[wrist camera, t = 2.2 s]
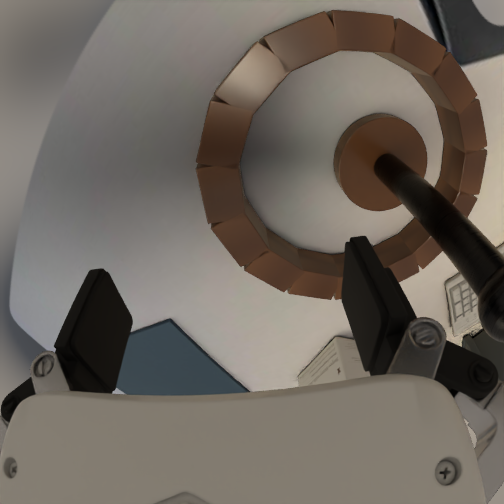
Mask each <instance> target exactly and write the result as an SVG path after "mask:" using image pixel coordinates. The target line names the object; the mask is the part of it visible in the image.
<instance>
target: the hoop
mask: <svg viewBox="0 0 504 504" xmlns="http://www.w3.org/2000/svg"><path fill="white" fill-rule="evenodd" d="M259 41H260V42H258V41H257V42H256V43H254V44H253V45H252V46H251V47H250V49H249V50H248V51H247V52H246V53H245V54H244V56H243V57H242V58H241V59H240V60H239V61H238V63H237V64H236V65H235V66H234V67H233V69H232V70H231V71H230V72H229V74H228V75H227V76H226V77H225V79H224V80H223V81H222V82H221V84H220V85H219V86H218V87H217V89H216V90H215V92H214V95H213V97H212V99H211V100H210V103H209V107H208V111H207V115H206V119H205V124H204V128H203V132H202V136H201V141H200V145H199V150H198V154H197V159H196V162H197V163H198V164H197V167H196V173H197V177H198V182H199V186H200V191H201V195H202V200H203V204H204V208H205V213H206V217H207V221H208V224H210V223H211V229H212V231H213V232H214V233H215V235H216V236H217V237H218V238H219V240H220V241H221V242H222V244H223V245H224V246H225V248H226V249H227V250H228V251H229V253H230V254H231V255H232V257H233V258H234V259H235V260H236V262H237V263H238V264H239V266H240V267H242V266H244V270H245V271H246V272H248V273H250V274H252V275H253V276H255V277H257V278H259V279H261V280H262V281H264V282H266V283H268V284H270V285H271V286H273V287H275V288H277V289H279V290H280V291H282V292H285V291H286V290H288V294H294V295H301V296H307V297H314V298H321V299H328V300H331V299H332V297H333V295H334V298H335V300H337V299H341V290H342V280H343V268H344V256H345V253H342V254H335V255H329V254H324V253H319V252H314V251H309V250H304V249H299V248H296V247H294V246H293V245H291V244H290V243H288V242H287V241H285V240H284V239H282V238H281V237H279V236H278V235H276V234H275V233H273V232H272V231H270V230H269V229H267V228H266V227H265V226H264V224H263V223H262V221H261V220H260V218H259V217H258V215H257V214H256V212H255V211H254V209H253V208H252V206H251V205H250V203H249V201H248V200H247V198H246V197H245V195H244V189H243V183H242V176H241V170H240V159H241V156H242V152H243V149H244V145H245V142H246V138H247V135H248V131H249V128H250V124H251V121H252V118H253V115H254V114H255V112H256V111H257V110H258V109H259V108H260V106H261V105H262V104H263V103H264V102H265V101H266V99H267V98H268V97H269V96H270V95H271V94H272V92H273V91H274V90H275V89H276V88H277V87H278V85H279V84H280V83H281V82H282V81H283V80H284V79H285V78H286V76H287V75H288V74H289V73H290V72H292V71H294V70H296V69H298V68H300V67H302V66H305V65H307V64H309V63H311V62H314V61H316V60H318V59H321V58H323V57H325V56H328V55H330V54H333V53H335V52H338V51H361V52H373V53H375V54H377V55H379V56H381V57H383V58H385V59H387V60H389V61H391V62H393V63H395V64H397V65H399V66H401V67H402V68H404V69H406V70H408V71H409V72H411V73H412V74H413V76H414V77H415V78H416V79H417V81H418V82H419V83H420V84H421V86H422V87H423V88H424V90H425V91H426V92H427V94H428V95H429V96H430V98H431V99H432V100H433V102H434V103H435V106H436V109H437V113H438V117H439V120H440V124H441V128H442V132H443V136H444V150H443V159H442V167H441V174H440V178H439V180H438V182H437V184H436V186H435V189H436V190H437V191H439V192H440V193H441V194H442V195H443V196H444V197H445V198H446V199H447V200H449V201H450V202H451V203H452V204H453V205H454V206H455V207H456V208H457V209H458V210H459V211H460V212H461V213H462V214H463V215H465V216H466V217H468V216H469V214H470V212H471V210H472V208H473V206H474V205H475V203H476V201H477V198H476V197H475V196H474V195H477V194H479V193H480V188H481V183H482V178H483V173H484V167H485V161H486V155H487V150H485V149H484V147H486V146H487V140H486V133H485V127H484V121H483V116H482V111H481V106H480V101H479V99H476V98H475V97H476V96H477V93H476V92H475V90H474V88H473V87H472V85H471V83H470V82H469V80H468V78H467V77H466V75H465V74H464V72H463V71H462V69H461V67H460V66H459V64H458V63H457V61H456V60H455V59H454V57H453V56H452V54H451V53H450V52H445V50H446V48H445V47H444V46H442V45H441V44H439V43H438V42H436V41H435V40H434V39H432V38H431V37H429V36H428V35H426V34H424V33H423V32H421V31H420V30H418V29H416V28H415V27H413V26H412V25H410V24H408V23H407V22H405V21H403V20H401V19H400V18H398V19H394V18H393V16H390V15H383V14H375V13H366V12H355V11H341V10H332V11H329V12H327V13H326V12H325V11H323V12H321V13H318V14H315V15H313V16H310V17H307V18H305V19H302V20H300V21H297V22H295V23H292V24H290V25H288V26H285V27H283V28H281V29H279V30H276V31H274V32H272V33H270V34H268V35H266V36H264V37H262V38H261V39H260V40H259ZM373 249H374V251H375V253H376V254H377V256H378V258H379V260H380V261H381V263H382V265H383V267H384V268H386V267H389V268H390V269H391V270H392V272H393V274H394V275H395V277H396V279H397V281H398V282H401V281H403V280H405V279H407V278H409V277H411V276H412V275H414V274H416V273H418V272H419V267H418V265H419V266H420V267H421V268H422V269H424V268H425V267H426V266H427V265H428V264H429V263H430V262H431V261H433V260H434V259H435V258H436V257H437V256H438V255H439V254H440V253H441V252H442V251H443V250H442V249H441V248H440V246H439V245H438V244H437V243H436V242H435V240H434V239H433V238H432V237H431V235H430V234H429V233H428V232H427V231H426V230H425V228H424V227H423V226H422V225H421V224H420V223H419V221H418V220H417V219H416V218H414V219H413V220H412V221H411V222H410V223H409V224H408V225H407V226H406V227H405V228H404V229H403V230H402V231H401V232H400V233H399V234H398V235H396V236H394V237H392V238H390V239H388V240H386V241H384V242H382V243H380V244H378V245H376V246H374V247H373Z"/></svg>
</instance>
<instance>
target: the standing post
mask: <svg viewBox="0 0 504 504" xmlns="http://www.w3.org/2000/svg"><path fill="white" fill-rule="evenodd" d="M426 168H427V152H426V147H425V144H424V141H423V139H422V137H421V136H420V134H419V133H418V131H417V130H416V129H415V128H414V127H413V126H412V125H410V124H409V123H407V122H406V121H404V120H402V119H400V118H398V117H395V116H393V115H388V114H373V115H369V116H366V117H363V118H361V119H359V120H358V121H356V122H355V123H353V124H352V125H351V126H350V127H349V128H348V129H347V130H346V131H345V132H344V134H343V135H342V137H341V138H340V140H339V143H338V145H337V148H336V151H335V156H334V171H335V176H336V179H337V181H338V183H339V185H340V187H341V188H342V190H343V191H344V193H345V194H346V195H347V197H348V198H349V199H350V200H351V201H352V202H353V203H355V204H356V205H358V206H359V207H361V208H364V209H367V210H371V211H384V210H389V209H393V208H395V207H397V206H399V205H401V204H403V205H404V206H405V207H406V208H407V209H408V210H409V211H410V212H411V214H412V215H413V216H414V217H415V218H416V219H417V220H418V221H419V223H420V224H421V225H422V226H423V227H424V228H425V230H426V231H427V232H428V233H429V234H430V235H431V237H432V238H433V239H434V240H435V242H436V243H437V244H438V245H439V246H440V248H441V249H442V250H443V251H444V253H445V254H446V255H447V256H448V258H449V259H450V260H451V262H452V263H453V264H454V266H455V267H456V268H457V269H458V271H459V272H460V273H461V275H462V276H463V278H464V279H465V280H466V282H467V283H468V284H469V286H470V287H471V289H472V290H473V292H474V293H475V294H476V296H477V297H478V316H479V320H480V323H481V325H482V327H483V329H484V330H485V332H486V333H487V334H488V335H489V336H490V337H492V338H493V339H495V340H497V341H499V342H503V343H504V256H503V255H502V254H501V253H500V252H499V251H498V250H497V249H496V247H495V246H494V245H493V244H492V243H491V242H490V241H489V240H488V239H487V238H486V237H485V236H484V235H483V234H482V233H481V231H480V230H479V229H478V228H477V227H476V226H475V225H474V224H473V223H472V222H471V221H470V220H469V219H468V218H467V217H466V216H465V215H463V214H462V213H461V212H460V211H459V210H458V209H457V208H456V207H455V206H454V205H453V204H452V203H451V202H450V201H449V200H447V199H446V198H445V197H444V196H443V195H442V194H441V193H440V192H439V191H437V190H436V189H435V188H434V187H433V186H432V185H430V184H429V183H428V182H427V181H426V180H425V179H423V178H424V176H425V172H426Z"/></svg>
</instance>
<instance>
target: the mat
mask: <svg viewBox="0 0 504 504" xmlns="http://www.w3.org/2000/svg"><path fill="white" fill-rule="evenodd" d="M116 388H118V389H119V390H121V391H122V392H124V393H125V394H127V395H161V396H181V395H215V394H233V393H247V392H249V391H248V390H247V389H246V388H245V387H243V386H242V385H241V384H240V383H239V382H238V381H236V380H235V379H234V378H233V377H232V376H231V375H230V374H228V373H227V372H226V371H225V370H224V369H223V368H222V367H221V366H219V365H218V364H217V363H216V362H215V361H214V360H213V359H212V358H211V357H210V356H208V355H207V354H206V353H205V352H204V351H203V350H202V349H201V348H200V347H199V346H198V345H197V344H196V343H195V342H194V341H193V340H191V339H190V338H189V337H188V336H187V335H186V334H185V333H184V332H183V331H182V330H181V329H180V328H179V327H178V326H177V325H176V324H175V323H174V322H173V321H172V320H171V319H168V320H165V321H163V322H160V323H157V324H154V325H151V326H149V327H146V328H143V329H140V330H138V331H135V332H132V333H130V335H129V338H128V342H127V346H126V349H125V353H124V357H123V361H122V365H121V369H120V373H119V377H118V381H117V385H116Z"/></svg>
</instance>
